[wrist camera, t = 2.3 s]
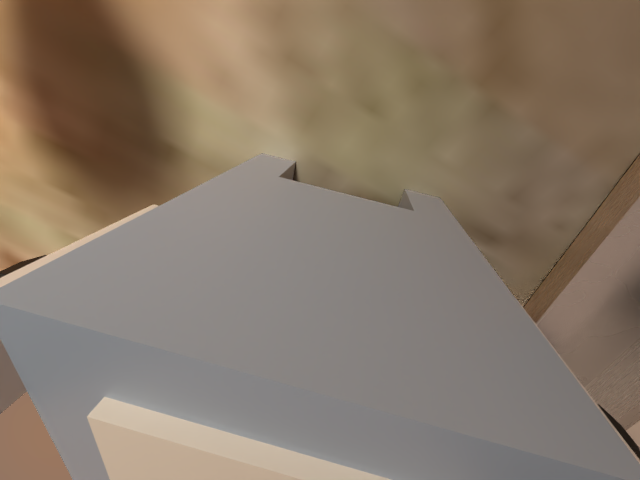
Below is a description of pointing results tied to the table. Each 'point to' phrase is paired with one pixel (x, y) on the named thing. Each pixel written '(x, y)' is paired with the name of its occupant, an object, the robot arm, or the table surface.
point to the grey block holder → (600, 304)
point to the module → (296, 347)
